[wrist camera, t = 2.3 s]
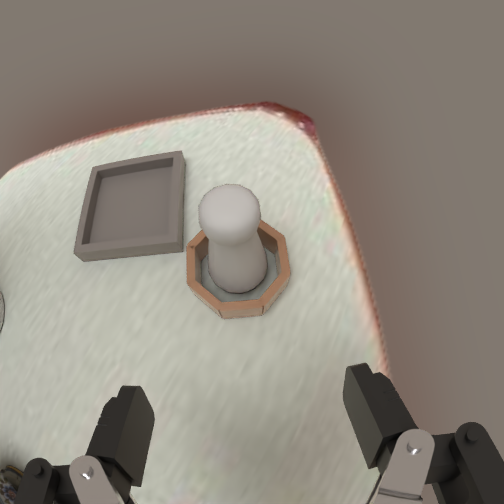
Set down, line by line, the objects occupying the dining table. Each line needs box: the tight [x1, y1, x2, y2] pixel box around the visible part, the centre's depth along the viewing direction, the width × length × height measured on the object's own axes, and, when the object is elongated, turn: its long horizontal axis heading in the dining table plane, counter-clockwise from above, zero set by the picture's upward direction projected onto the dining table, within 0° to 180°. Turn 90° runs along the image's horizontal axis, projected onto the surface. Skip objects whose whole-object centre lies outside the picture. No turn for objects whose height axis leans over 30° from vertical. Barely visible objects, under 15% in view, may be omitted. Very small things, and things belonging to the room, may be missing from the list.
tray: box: [74, 151, 185, 262], centre depth 33 cm, size 13×13×2 cm
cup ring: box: [187, 220, 290, 319], centre depth 29 cm, size 10×10×4 cm
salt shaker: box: [199, 184, 268, 293], centre depth 25 cm, size 6×6×13 cm
